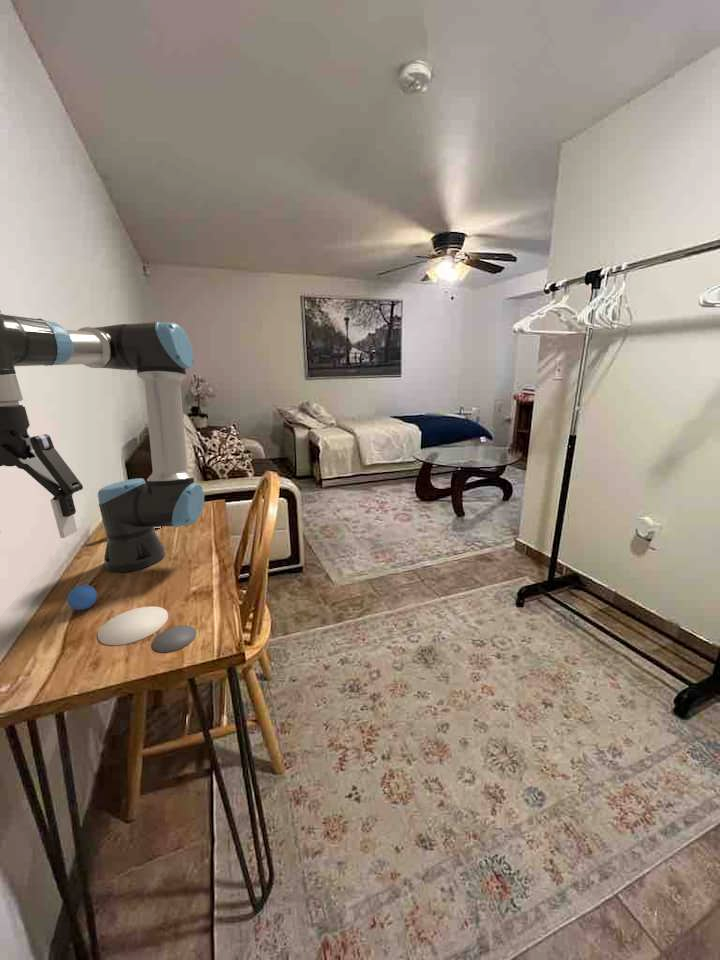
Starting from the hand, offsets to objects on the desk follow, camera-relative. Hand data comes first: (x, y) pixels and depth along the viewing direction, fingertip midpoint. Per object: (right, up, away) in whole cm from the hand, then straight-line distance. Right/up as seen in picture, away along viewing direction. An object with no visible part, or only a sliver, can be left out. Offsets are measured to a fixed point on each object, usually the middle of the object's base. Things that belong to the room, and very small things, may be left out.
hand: (29, 535), depth 65 cm
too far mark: (+18, -22, +13) cm, 31 cm away
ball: (-8, -17, +24) cm, 31 cm away
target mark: (+7, -21, +18) cm, 29 cm away
